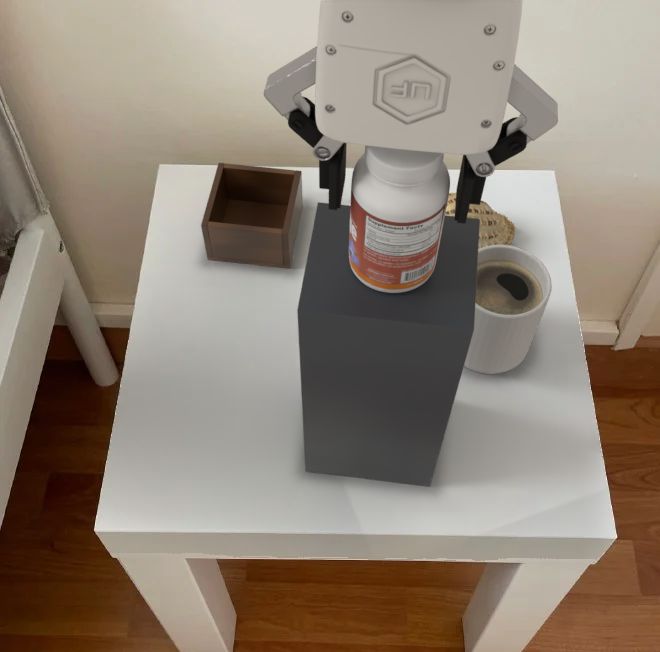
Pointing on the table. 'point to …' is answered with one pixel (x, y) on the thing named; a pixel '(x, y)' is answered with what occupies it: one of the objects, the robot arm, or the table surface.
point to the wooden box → (253, 215)
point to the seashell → (486, 223)
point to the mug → (506, 307)
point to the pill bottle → (397, 217)
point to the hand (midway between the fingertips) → (398, 199)
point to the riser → (382, 356)
